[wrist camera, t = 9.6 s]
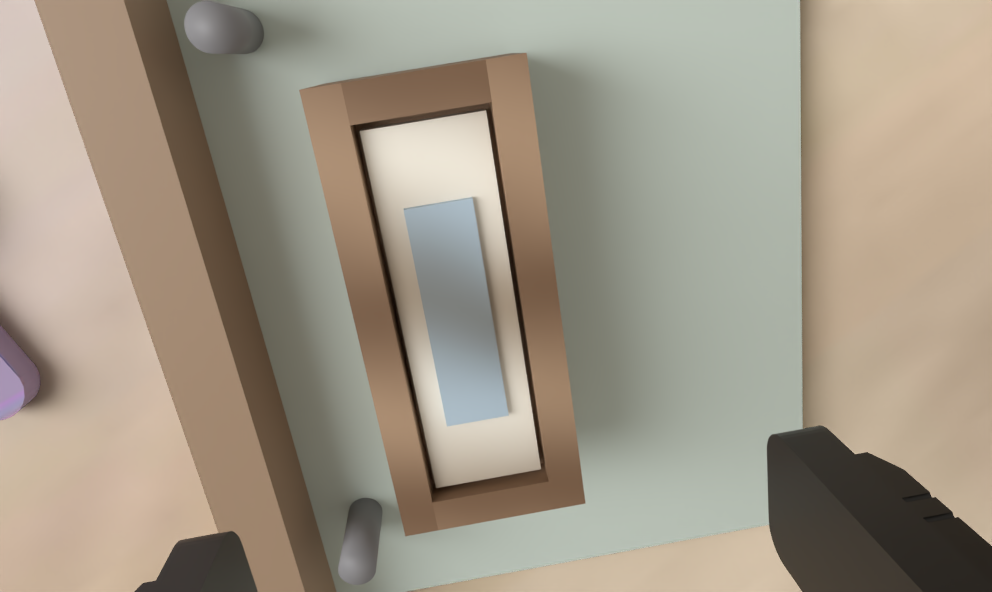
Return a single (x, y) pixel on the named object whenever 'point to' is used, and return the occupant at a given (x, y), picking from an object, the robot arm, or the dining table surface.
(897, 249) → the dining table surface
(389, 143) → the frame
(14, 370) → the icon
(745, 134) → the wall panel
